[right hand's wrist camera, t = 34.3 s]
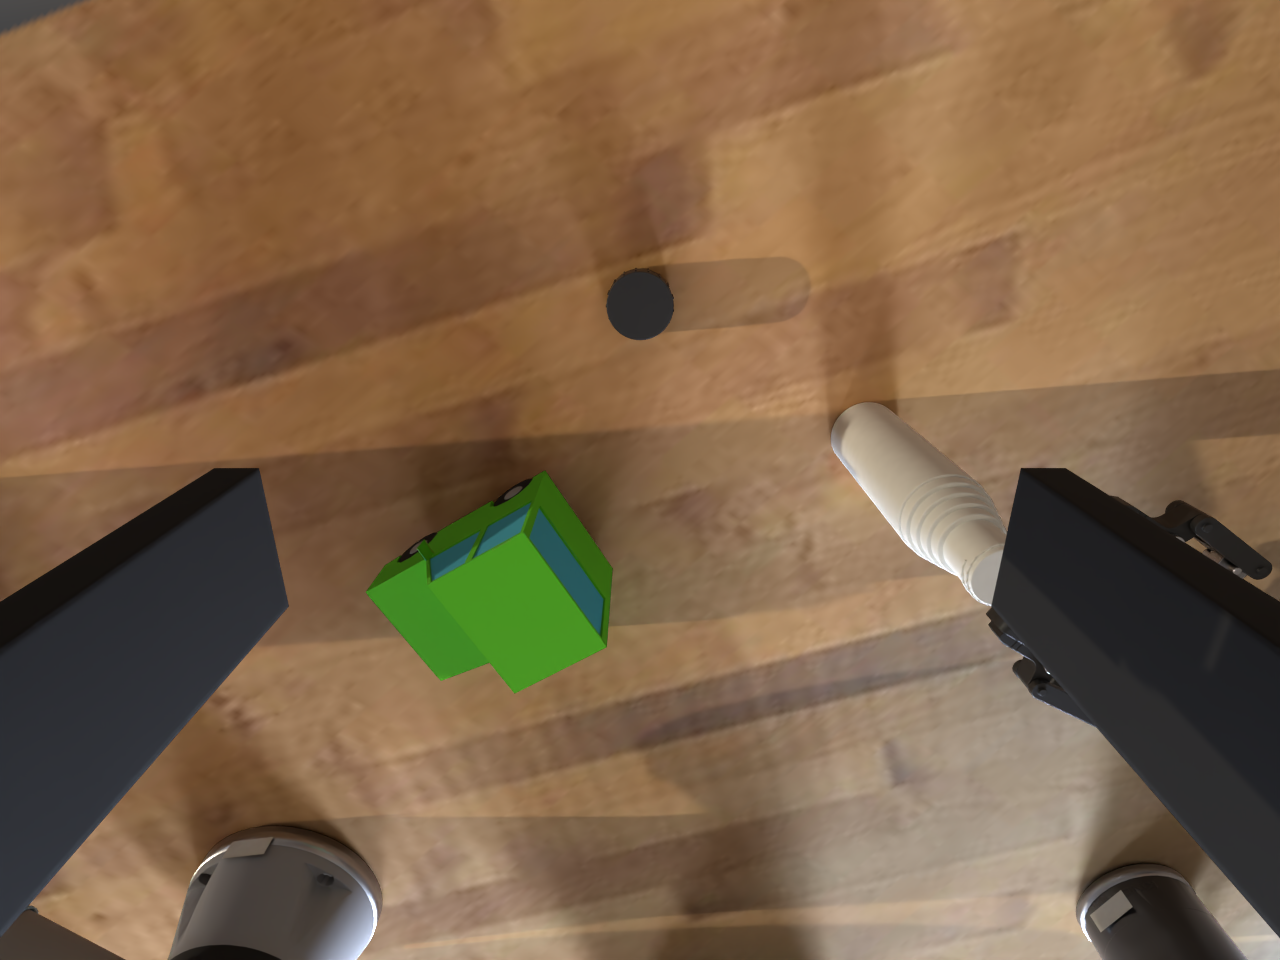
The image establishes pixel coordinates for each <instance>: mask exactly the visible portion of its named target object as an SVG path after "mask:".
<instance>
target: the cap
mask: <svg viewBox="0 0 1280 960" xmlns="http://www.w3.org/2000/svg"><path fill="white" fill-rule="evenodd" d="M673 299H674V297H673V294H671V291H670V288H669V284H668V283H666V281H665V280H664V279H663V278H662V277H661V276H660V274H657V273H655V272H653V271H651V270H649V269H637V268H635V269H633V270H629V271H627V272H624V273H623V274H622V275H621V276H619V277H618V278H617V279H616V280H614V283H613V285H612V287H611V289H610V290H609V291H608V298H607V304H606V307H607V313H608V317H609V320H610V322H611V324H612V325H613V327H614V328H615V329H616V330H617V331H618V332H619V333H620V334H622V335H623V336H625V337H628V338H630V339H634V340H646V339H650V338H653V337H655V336H657V335H658V334H660V333H661V332H662V331H663V330H664V329H665V328H666V327H667V325H668V324H669V323H670V320H671V318H672V314H673V312H674V309H673V307H674V304H673Z"/></svg>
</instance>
